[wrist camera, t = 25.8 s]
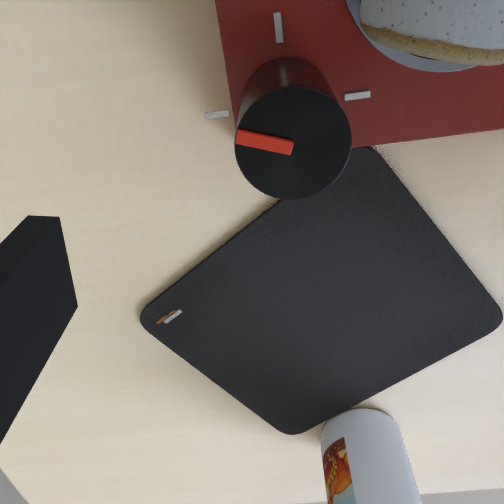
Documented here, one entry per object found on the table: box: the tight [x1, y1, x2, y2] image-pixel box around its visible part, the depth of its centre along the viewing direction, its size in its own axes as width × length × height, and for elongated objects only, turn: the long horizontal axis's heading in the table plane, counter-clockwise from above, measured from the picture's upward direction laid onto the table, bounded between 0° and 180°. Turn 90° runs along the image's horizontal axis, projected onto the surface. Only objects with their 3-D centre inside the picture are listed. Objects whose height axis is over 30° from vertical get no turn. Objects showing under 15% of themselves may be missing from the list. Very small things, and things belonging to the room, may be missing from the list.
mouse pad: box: [140, 146, 503, 435], centre depth 37 cm, size 23×20×1 cm
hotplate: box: [204, 0, 504, 148], centre depth 24 cm, size 18×20×3 cm
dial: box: [234, 57, 352, 200], centre depth 22 cm, size 5×5×7 cm
